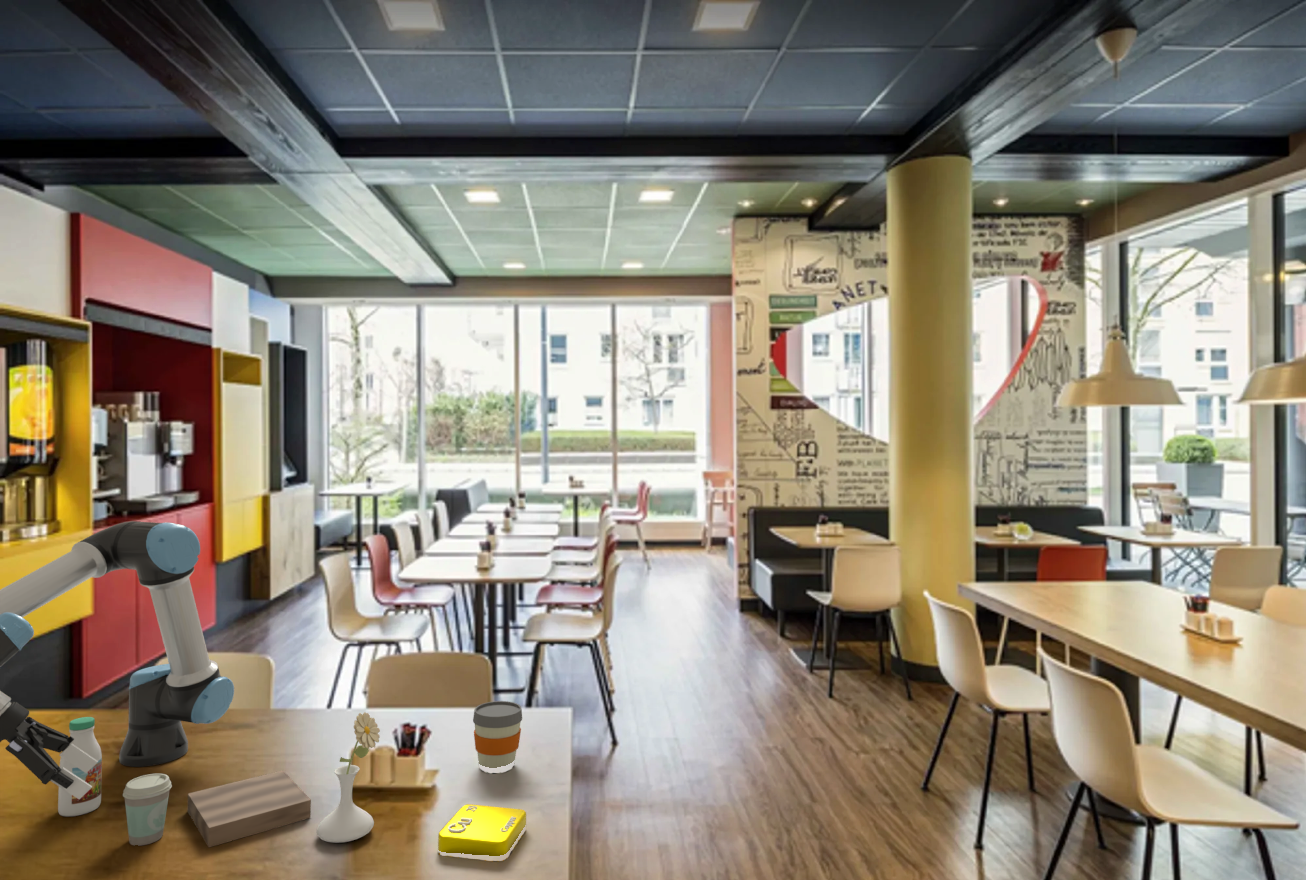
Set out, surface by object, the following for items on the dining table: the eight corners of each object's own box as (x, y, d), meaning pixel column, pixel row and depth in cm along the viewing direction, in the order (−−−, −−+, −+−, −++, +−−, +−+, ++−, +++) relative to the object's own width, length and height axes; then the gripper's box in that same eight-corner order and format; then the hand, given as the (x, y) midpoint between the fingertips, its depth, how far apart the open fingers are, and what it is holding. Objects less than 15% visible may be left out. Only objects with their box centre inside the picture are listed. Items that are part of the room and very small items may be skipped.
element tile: (504, 865, 155) (505, 841, 155) (434, 856, 157) (434, 833, 157) (528, 828, 170) (529, 806, 170) (463, 822, 172) (464, 800, 172)
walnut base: (187, 811, 173) (187, 793, 173) (282, 786, 187) (282, 770, 187) (208, 847, 158) (209, 827, 158) (310, 817, 172) (310, 799, 172)
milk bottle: (54, 820, 168) (56, 727, 168) (62, 805, 175) (64, 716, 175) (97, 813, 172) (100, 722, 172) (103, 798, 178) (105, 711, 179)
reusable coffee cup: (461, 771, 198) (463, 712, 198) (489, 753, 209) (491, 698, 209) (503, 780, 193) (505, 720, 193) (530, 761, 205) (531, 704, 205)
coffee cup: (146, 851, 156) (148, 791, 156) (110, 846, 158) (112, 787, 158) (180, 831, 165) (181, 774, 165) (146, 826, 166) (147, 770, 166)
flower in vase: (338, 854, 157) (342, 730, 157) (304, 838, 163) (307, 719, 163) (391, 828, 168) (394, 712, 168) (357, 813, 174) (360, 702, 174)
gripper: (-11, 713, 158) (79, 772, 165) (-40, 756, 136) (64, 822, 144) (23, 683, 160) (110, 742, 168) (0, 721, 139) (100, 787, 147)
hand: (89, 779), depth 156 cm, fingers open, 13 cm apart
